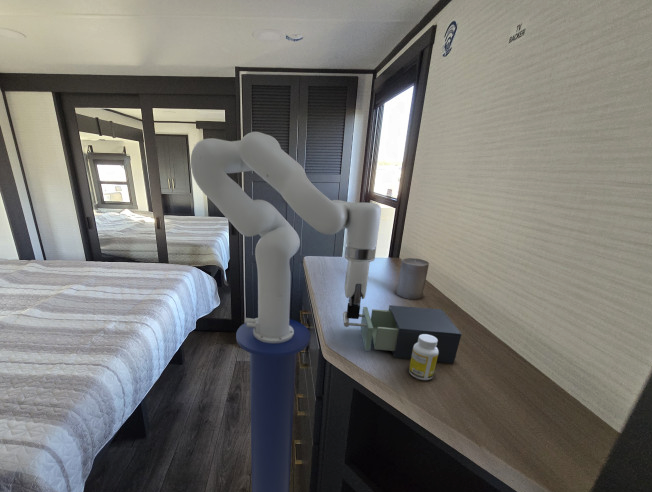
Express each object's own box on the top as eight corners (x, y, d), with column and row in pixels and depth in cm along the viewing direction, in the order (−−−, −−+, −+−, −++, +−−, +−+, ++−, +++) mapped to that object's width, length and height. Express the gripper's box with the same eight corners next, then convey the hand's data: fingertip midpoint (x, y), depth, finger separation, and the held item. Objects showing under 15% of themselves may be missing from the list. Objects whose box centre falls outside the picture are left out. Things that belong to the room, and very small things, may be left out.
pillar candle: (423, 293, 125) (430, 257, 119) (421, 301, 116) (429, 263, 111) (397, 288, 129) (403, 253, 123) (393, 296, 121) (400, 259, 115)
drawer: (342, 348, 83) (344, 325, 80) (340, 325, 95) (342, 305, 93) (418, 355, 80) (423, 332, 78) (406, 331, 93) (410, 310, 90)
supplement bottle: (427, 367, 77) (435, 333, 73) (436, 381, 72) (445, 345, 68) (405, 366, 77) (412, 331, 74) (412, 380, 72) (420, 343, 69)
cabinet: (394, 357, 81) (399, 328, 78) (384, 331, 94) (389, 305, 91) (453, 363, 79) (461, 333, 76) (435, 335, 92) (441, 309, 89)
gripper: (343, 245, 87) (338, 305, 94) (346, 259, 73) (339, 328, 80) (371, 247, 86) (363, 307, 93) (379, 261, 72) (369, 331, 79)
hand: (352, 317), depth 86 cm, fingers closed
